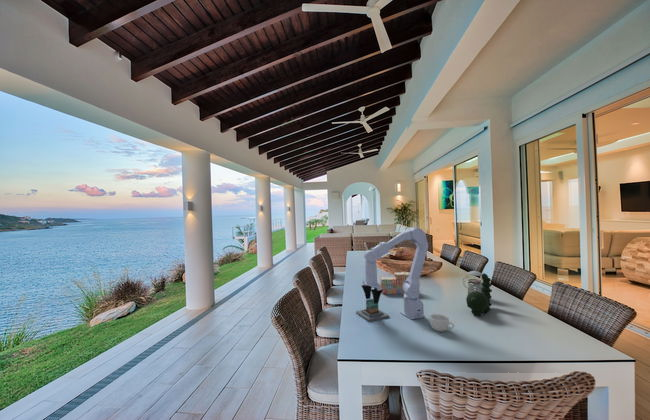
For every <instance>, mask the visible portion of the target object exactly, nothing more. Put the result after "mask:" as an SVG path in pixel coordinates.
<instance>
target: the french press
mask: <svg viewBox="0 0 650 420" xmlns="http://www.w3.org/2000/svg"><path fill="white" fill-rule="evenodd" d="M472 257H473V261H474V262H473V263H474V265H473V266H474V267H473V268H474V270H472V271H467V272H466V274H467V275H466V276H464V277H463V279H462V285H463V286H464V287H465V288H466V289H467V294H466V295H465V297H467V296H468V294H469V293H471V292H474V291H478V292H482V291H481V288H482V287H483V286H482V282H483V280H480V279H477V278H470V277H469V276H473V277H482V274H483V273H481V272H480V271H477V270H476V269H475V268H476V265H475V264H476V263H475V261H476V260H475V258H477V255H476V254H473V255H472ZM468 275H469V276H468ZM465 279H468V282H467V286H466V283H465V282H466V280H465Z"/></svg>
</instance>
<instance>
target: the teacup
mask: <svg viewBox="0 0 650 420" xmlns="http://www.w3.org/2000/svg"><path fill="white" fill-rule="evenodd" d="M429 324H430V327H431V328H432V329H433V330H434V331H436V332H439V333H443V332H446V331H447V330H451V329H453V328H454V327H455V325H454V323H453V322H452V321H450V318H449V317H448V316H446V315H444V314H439V313H434V314H431V315H429ZM449 325H452V326H451V327H450V326H449Z"/></svg>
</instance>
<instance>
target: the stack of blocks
mask: <svg viewBox="0 0 650 420" xmlns="http://www.w3.org/2000/svg"><path fill="white" fill-rule="evenodd" d="M393 273H394V274H393V275H394V276H392V277H391V276H384V277H383V276H380V286H381V289H382V290H383V291H382V293H381V295H404V294H405V292H404V291H403V288H402V287H403V284H404V283H405V282H406V279H407V278H408V277H409V274H410V271H402V272H393Z"/></svg>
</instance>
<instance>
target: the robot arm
mask: <svg viewBox="0 0 650 420" xmlns="http://www.w3.org/2000/svg"><path fill="white" fill-rule="evenodd" d="M403 241H413V243H414V244H415V246H416V249H415V252H414V256H413V260H412V264H411V267H410V271H409V272H410V274H409V277H408V278H407V279H406V282H405V283H404V284H403V287H402V288H403V291H404V292H405V294H403V310H402V311H400V314H401V315H402V316H405V317H407V318H408V319H411V320H416V319H421V318H425V317H426V315H425V314H424V313H425V312H424V310H425V309H424V302H423V301H422V300H421V299H420V297H419V296H420V294H421V291H420V286H421V283H420V278H421V275H422V270H423V268H424V264H425V259H426V257H427V253H428V248H429V244H428V239H427V234H426V232H425V231H424V230H423V229H422V228H420V227H416V226H410V227H409V228H406V229H405V230H403V231H402V232H400V233H399V234H397V235H396V236H394V237H393V238H391V239H390V240H388V241H387V242H386V241H382V242H381V241H380V242H378V244H377V245H376V246H374V247H371V248H370V249H368V250H366V251H365V252H364V254H363V255H364V257H363V258H364V259H365V267H364V268H365V279H362V284H361V288H362V290H363V293H364V296H365V299H366V300H369V299H371V296H372V299H373V300H374V304H377V303H378V304H379V301H380V298H381V295H382V291H383V290H382V289H381V284H379V283H378V265H377V260H378V259H380V258H381V257H383V256H385V255H386V254H388V253H389V252H390V251H391V248H393V247H395V246H396V245H398V244H400V243H402V242H403ZM371 294H372V295H371Z"/></svg>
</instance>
